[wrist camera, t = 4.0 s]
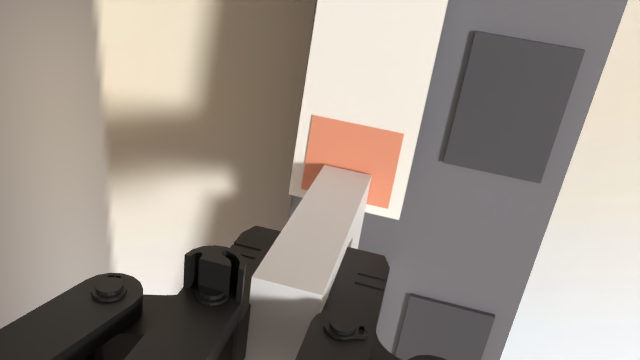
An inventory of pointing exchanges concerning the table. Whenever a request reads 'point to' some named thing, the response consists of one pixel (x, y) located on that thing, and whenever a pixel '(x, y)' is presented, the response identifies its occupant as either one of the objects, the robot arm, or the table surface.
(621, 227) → the table surface
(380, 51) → the block
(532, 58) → the strip
